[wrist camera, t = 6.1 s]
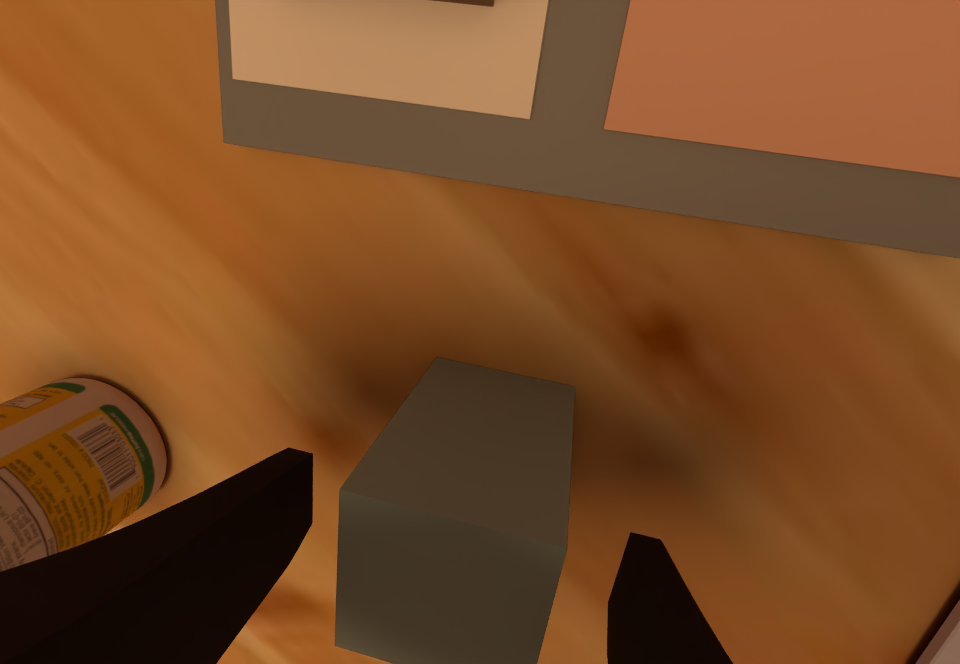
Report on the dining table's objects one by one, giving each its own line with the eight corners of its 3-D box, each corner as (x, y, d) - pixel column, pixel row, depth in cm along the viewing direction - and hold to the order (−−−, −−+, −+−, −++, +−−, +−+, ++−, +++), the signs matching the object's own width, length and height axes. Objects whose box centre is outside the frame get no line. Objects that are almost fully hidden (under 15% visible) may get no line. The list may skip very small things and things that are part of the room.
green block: (575, 386, 13) (566, 548, 8) (548, 500, 15) (526, 704, 9) (436, 356, 14) (340, 489, 9) (424, 470, 16) (334, 645, 10)
